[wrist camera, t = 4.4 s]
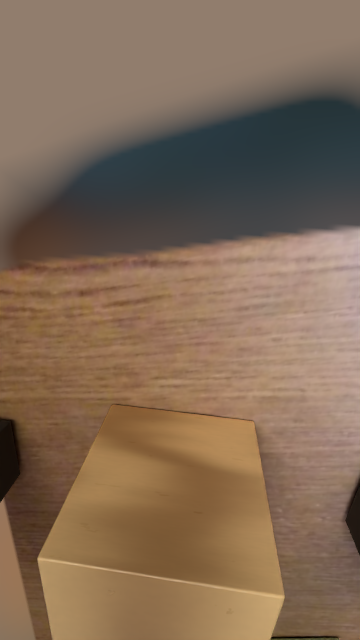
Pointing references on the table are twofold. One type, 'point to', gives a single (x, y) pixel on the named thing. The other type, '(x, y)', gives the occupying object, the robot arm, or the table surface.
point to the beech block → (165, 534)
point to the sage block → (306, 639)
